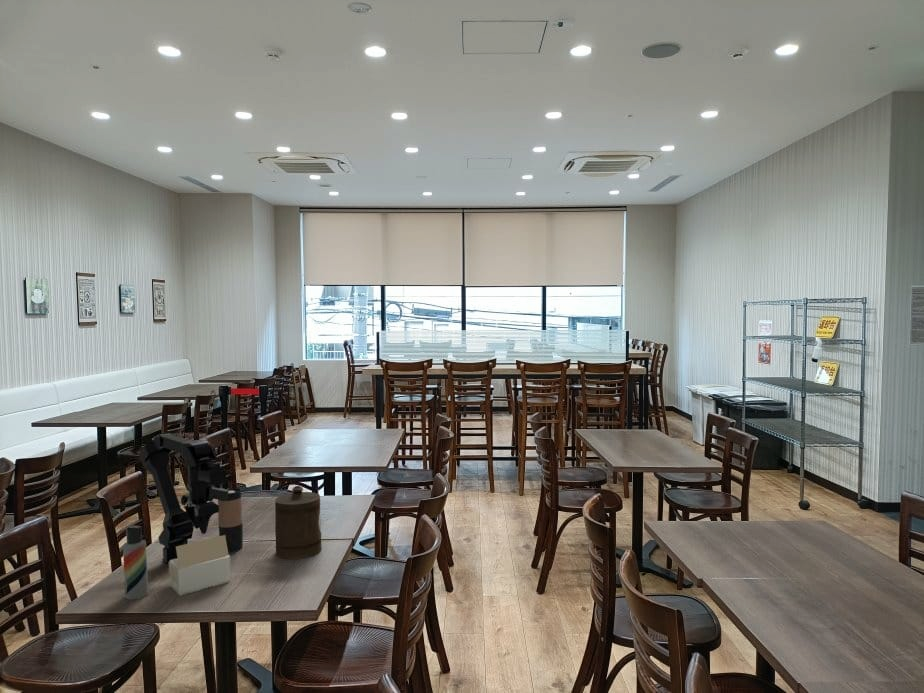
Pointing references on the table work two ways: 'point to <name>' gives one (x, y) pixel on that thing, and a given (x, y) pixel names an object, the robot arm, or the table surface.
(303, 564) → the table surface
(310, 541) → the wooden container
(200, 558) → the top flap
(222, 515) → the travel mug
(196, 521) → the robot arm
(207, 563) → the storage box
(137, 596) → the lotion bottle
